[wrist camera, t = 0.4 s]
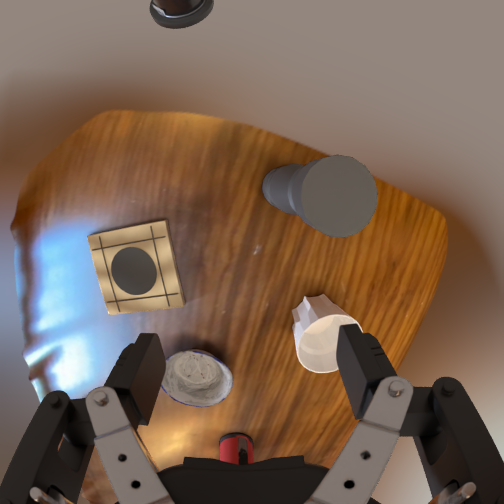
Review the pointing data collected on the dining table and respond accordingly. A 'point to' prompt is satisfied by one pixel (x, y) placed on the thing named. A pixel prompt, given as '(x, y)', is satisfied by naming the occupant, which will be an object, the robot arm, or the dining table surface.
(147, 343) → the robot arm
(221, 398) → the bowl
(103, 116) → the dining table surface
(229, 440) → the speaker
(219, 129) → the dining table surface
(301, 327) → the cup
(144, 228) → the board
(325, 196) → the candle holder
